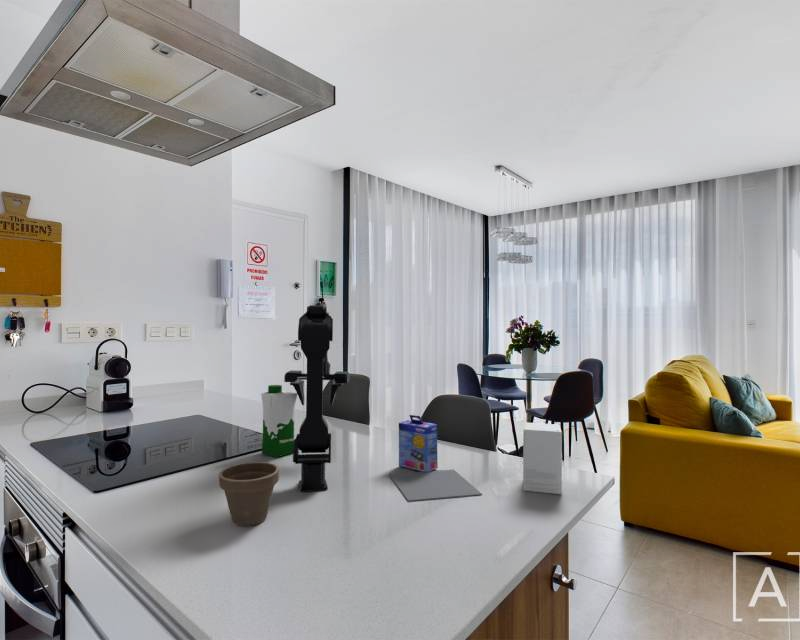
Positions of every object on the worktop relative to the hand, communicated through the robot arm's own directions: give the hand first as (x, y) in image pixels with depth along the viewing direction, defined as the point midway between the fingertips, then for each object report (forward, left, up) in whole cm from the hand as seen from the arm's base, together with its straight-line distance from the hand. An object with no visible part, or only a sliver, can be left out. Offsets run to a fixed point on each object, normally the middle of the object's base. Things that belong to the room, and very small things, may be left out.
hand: (317, 405), depth 140 cm
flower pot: (-43, +17, -15) cm, 49 cm away
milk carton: (+3, +11, -15) cm, 19 cm away
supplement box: (-39, -52, -15) cm, 67 cm away
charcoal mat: (-32, -26, -15) cm, 44 cm away
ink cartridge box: (-19, -26, -15) cm, 35 cm away
